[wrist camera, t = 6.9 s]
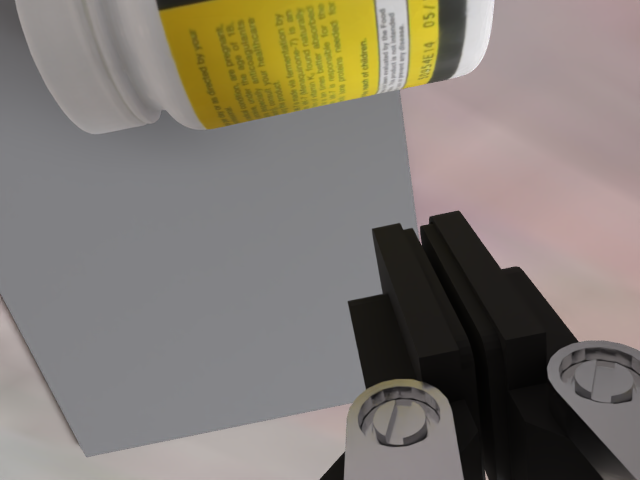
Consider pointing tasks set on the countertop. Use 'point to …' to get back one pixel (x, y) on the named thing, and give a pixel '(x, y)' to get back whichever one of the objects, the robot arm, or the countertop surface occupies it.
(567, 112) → the countertop surface
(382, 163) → the mat
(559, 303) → the countertop surface
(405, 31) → the supplement bottle
